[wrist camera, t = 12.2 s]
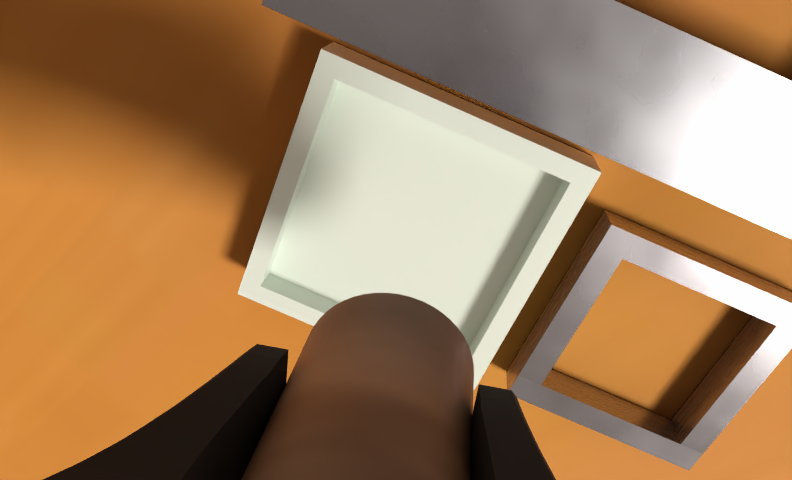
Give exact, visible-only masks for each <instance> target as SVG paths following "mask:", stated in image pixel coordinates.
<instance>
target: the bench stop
mask: <svg viewBox="0 0 792 480" xmlns="http://www.w3.org/2000/svg"><path fill="white" fill-rule="evenodd" d="M262 5H263V6H266V7H268V8H270V9H272V10H275V11H277V12H279V13H281V14H284V15H286V16H288V17H291V18H293V19H295V20H297V21H300V22H302V23H304V24H306V25H309V26H311V27H313V28H315V29H318V30H320V31H322V32H324V33H327V34H329V35H331V36H333V37H336V38H338V39H340V40H342V41H345V42H347V43H349V44H352V45H354V46H356V47H358V48H361V49H363V50H365V51H367V52H370V53H372V54H374V55H376V56H379V57H381V58H383V59H385V60H388V61H390V62H392V63H394V64H397V65H399V66H401V67H404V68H406V69H408V70H410V71H413V72H415V73H417V74H419V75H422V76H424V77H426V78H428V79H431V80H433V81H435V82H437V83H440V84H442V85H444V86H446V87H449V88H451V89H453V90H456V91H458V92H460V93H462V94H465V95H467V96H469V97H471V98H474V99H476V100H478V101H480V102H483V103H485V104H487V105H489V106H492V107H494V108H496V109H498V110H501V111H503V112H505V113H507V114H510V115H512V116H514V117H517V118H519V119H521V120H523V121H526V122H528V123H530V124H532V125H535V126H537V127H539V128H541V129H544V130H546V131H548V132H550V133H553V134H555V135H557V136H559V137H562V138H564V139H566V140H569V141H571V142H573V143H575V144H578V145H580V146H582V147H584V148H587V149H589V150H591V151H593V152H596V153H598V154H600V155H602V156H605V157H607V158H609V159H611V160H614V161H616V162H618V163H620V164H623V165H625V166H627V167H630V168H632V169H634V170H636V171H639V172H641V173H643V174H645V175H648V176H650V177H652V178H654V179H657V180H659V181H661V182H663V183H666V184H668V185H670V186H672V187H675V188H677V189H679V190H682V191H684V192H686V193H688V194H691V195H693V196H695V197H697V198H700V199H702V200H704V201H706V202H709V203H711V204H713V205H715V206H718V207H720V208H722V209H724V210H727V211H729V212H731V213H734V214H736V215H738V216H740V217H743V218H745V219H747V220H749V221H752V222H754V223H756V224H758V225H761V226H763V227H765V228H767V229H770V230H772V231H774V232H776V233H779V234H781V235H783V236H785V237H788V238H790V239H792V81H791V80H789V79H787V78H785V77H782V76H780V75H778V74H776V73H774V72H771V71H769V70H767V69H765V68H763V67H760V66H758V65H756V64H754V63H752V62H749V61H747V60H745V59H743V58H741V57H738V56H736V55H734V54H732V53H730V52H727V51H725V50H723V49H721V48H718V47H716V46H714V45H712V44H710V43H707V42H705V41H703V40H701V39H699V38H696V37H694V36H692V35H690V34H688V33H685V32H683V31H681V30H679V29H677V28H674V27H672V26H670V25H668V24H666V23H663V22H661V21H659V20H657V19H655V18H652V17H650V16H648V15H646V14H644V13H641V12H639V11H637V10H635V9H633V8H630V7H628V6H626V5H624V4H622V3H619V2H617V1H615V0H263V2H262Z"/></svg>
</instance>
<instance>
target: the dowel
mask: <svg viewBox="0 0 792 480" xmlns="http://www.w3.org/2000/svg"><path fill="white" fill-rule="evenodd" d="M473 387H474V364H473V358H472V354H471V351H470V348H469V345H468V343H467V341H466V339H465V337H464V336H463V334H462V333H461V331H460V330H459V329H458V327H457V326H456V325H455V324H454V323H453V322H452V321H451V320H450V319H449V318H448V317H447V316H445V315H444V314H443V313H442V312H440V311H439V310H437V309H436V308H434V307H433V306H431V305H429V304H427V303H425V302H423V301H421V300H418V299H415V298H412V297H409V296H405V295H401V294H394V293H369V294H363V295H359V296H355V297H352V298H349V299H346V300H344V301H342V302H340V303H338V304H336V305H335V306H333V307H332V308H331V309H329V310H328V311H327V312H326V313H325V314H324V315H323V316H322V317H321V318H320V319H319V320H318V321H317V323H316V324H315V325H314V327H313V329H312V331H311V333H310V335H309V337H308V339H307V341H306V343H305V345H304V347H303V350H302V352H301V354H300V356H299V358H298V360H297V362H296V364H295V366H294V369H293V371H292V373H291V375H290V377H289V379H288V381H287V383H286V386H285V388H284V390H283V392H282V394H281V396H280V398H279V400H278V403H277V405H276V407H275V409H274V411H273V413H272V415H271V417H270V420H269V422H268V424H267V426H266V428H265V430H264V432H263V434H262V436H261V439H260V441H259V443H258V445H257V447H256V449H255V451H254V453H253V456H252V458H251V460H250V462H249V464H248V466H247V468H246V470H245V473H244V475H243V477H242V479H241V480H470V478H471V435H472V414H473Z"/></svg>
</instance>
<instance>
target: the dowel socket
mask: <svg viewBox="0 0 792 480" xmlns="http://www.w3.org/2000/svg"><path fill="white" fill-rule="evenodd" d="M622 259H624V260H626V261H629V262H631V263H633V264H635V265H638V266H640V267H642V268H645V269H647V270H649V271H651V272H654V273H656V274H658V275H661V276H663V277H665V278H668V279H670V280H672V281H674V282H677V283H679V284H681V285H684V286H686V287H688V288H690V289H693V290H695V291H697V292H700V293H702V294H704V295H707V296H709V297H711V298H713V299H716V300H718V301H720V302H723V303H725V304H727V305H729V306H732V307H734V308H736V309H739V310H741V311H743V312H746V313H748V314H750V315H752V316H753V317H752V318H751V319H750V321H749V322H748V323H747V324H746V326H745V327H744V328H743V329H742V331H741V332H740V333H739V335H738V336H737V337H736V338H735V340H734V341H733V342H732V343H731V345H730V346H729V347H728V349H727V350H726V351H725V352H724V354H723V355H722V356H721V357H720V359H719V360H718V361H717V363H716V364H715V365H714V366H713V368H712V369H711V370H710V371H709V373H708V374H707V375H706V377H705V378H704V379H703V380H702V382H701V383H700V384H699V385H698V387H697V388H696V389H695V391H694V392H693V393H692V394H691V396H690V397H689V398H688V399H687V401H686V402H685V403H684V405H683V406H682V407H681V408H680V410H679V411H678V412H677V413H676V415H675V416H674V417H673V419H672V420H670V419H667V418H665V417H663V416H660V415H658V414H656V413H653V412H651V411H649V410H646V409H644V408H642V407H639V406H637V405H635V404H632V403H630V402H627V401H625V400H623V399H620V398H618V397H616V396H613V395H611V394H609V393H606V392H604V391H602V390H599V389H597V388H595V387H592V386H590V385H588V384H585V383H583V382H580V381H578V380H576V379H573V378H571V377H569V376H566V375H564V374H562V373H559V372H557V371H555V370H552V367H553V366H554V364H555V363H556V361H557V360H558V358H559V357H560V355H561V353H562V352H563V350H564V349H565V347H566V346H567V344H568V343H569V341H570V339H571V338H572V336H573V335H574V333H575V332H576V330H577V329H578V327H579V325H580V324H581V322H582V321H583V319H584V318H585V316H586V315H587V313H588V311H589V310H590V308H591V307H592V305H593V304H594V302H595V301H596V299H597V298H598V296H599V294H600V293H601V291H602V290H603V288H604V287H605V285H606V284H607V282H608V280H609V279H610V277H611V276H612V274H613V273H614V271H615V270H616V268H617V266H618V265H619V263H620V262H621V260H622ZM791 348H792V291H789V290H787V289H785V288H782V287H780V286H778V285H776V284H773V283H771V282H769V281H767V280H764V279H762V278H760V277H757V276H755V275H753V274H751V273H748V272H746V271H744V270H741V269H739V268H737V267H735V266H732V265H730V264H728V263H725V262H723V261H721V260H719V259H716V258H714V257H712V256H710V255H707V254H705V253H703V252H700V251H698V250H696V249H694V248H691V247H689V246H687V245H684V244H682V243H680V242H678V241H675V240H673V239H671V238H668V237H666V236H664V235H662V234H659V233H657V232H655V231H653V230H650V229H648V228H646V227H643V226H641V225H639V224H637V223H634V222H632V221H630V220H627V219H625V218H623V217H621V216H618V215H616V214H614V213H612V212H609V211H607V210H604V212H603V213H602V215H601V217H600V218H599V220H598V221H597V223H596V225H595V226H594V228H593V230H592V231H591V233H590V235H589V236H588V238H587V240H586V241H585V243H584V245H583V246H582V248H581V250H580V251H579V253H578V255H577V256H576V258H575V259H574V261H573V263H572V264H571V266H570V268H569V269H568V271H567V273H566V274H565V276H564V278H563V279H562V281H561V283H560V284H559V286H558V288H557V289H556V291H555V293H554V294H553V296H552V298H551V299H550V301H549V302H548V304H547V306H546V307H545V309H544V311H543V312H542V314H541V316H540V317H539V319H538V321H537V322H536V324H535V326H534V327H533V329H532V331H531V332H530V334H529V336H528V337H527V339H526V340H525V342H524V344H523V345H522V347H521V349H520V350H519V352H518V354H517V355H516V357H515V359H514V360H513V362H512V364H511V365H510V367H509V369H508V370H507V372H506V373H507V390H512V391H513V393H514V394H515V396H516V397H517V398H519V399H521V400H524V401H526V402H528V403H531V404H533V405H536V406H538V407H540V408H543V409H545V410H547V411H550V412H552V413H554V414H557V415H559V416H562V417H564V418H566V419H569V420H571V421H573V422H576V423H578V424H580V425H583V426H585V427H588V428H590V429H592V430H595V431H597V432H599V433H602V434H604V435H607V436H609V437H611V438H614V439H616V440H618V441H621V442H623V443H625V444H628V445H630V446H633V447H635V448H637V449H640V450H642V451H644V452H647V453H649V454H651V455H654V456H656V457H659V458H661V459H663V460H666V461H668V462H670V463H673V464H675V465H677V466H680V467H682V468H685V469H687V470H690V468H691V467H692V466H693V465H694V464H695V463H696V461H697V460H698V459H699V458H700V457H701V455H702V454H703V453H704V452H705V451H706V449H707V448H708V447H709V446H710V445H711V444H712V442H713V441H714V440H715V439H716V438H717V436H718V435H719V434H720V433H721V432H722V430H723V429H724V428H725V427H726V426H727V425H728V423H729V422H730V421H731V420H732V419H733V417H734V416H735V415H736V414H737V413H738V411H739V410H740V409H741V408H742V407H743V405H744V404H745V403H746V402H747V401H748V400H749V398H750V397H751V396H752V395H753V394H754V392H755V391H756V390H757V389H758V388H759V386H760V385H761V384H762V383H763V382H764V381H765V379H766V378H767V377H768V376H769V375H770V373H771V372H772V371H773V370H774V369H775V367H776V366H777V365H778V364H779V363H780V362H781V360H782V359H783V358H784V357H785V356H786V354H787V353H788V352H789V351H790V350H791Z"/></svg>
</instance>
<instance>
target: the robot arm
mask: <svg viewBox="0 0 792 480" xmlns="http://www.w3.org/2000/svg"><path fill="white" fill-rule="evenodd" d="M287 362H288V350H287V349H281V348H276V347H270V346H265V345H259V344H257V345H255V346H254V347H252V348H251V349H249V350H248V351H247V352H245V353H244V354H243V355H242V356H240V357H239V358H238V359H237V360H235V361H234V362H233V363H231V364H230V365H229V366H228V367H226V368H225V369H224V370H222V371H221V372H220V373H219V374H217V375H216V376H215V377H213V378H212V379H211V380H209V381H208V382H207V383H205V384H204V385H203V386H201V387H200V388H199V389H197V390H196V391H194V392H193V393H192V394H190V395H189V396H188V397H186V398H185V399H184V400H182V401H181V402H179V403H178V404H177V405H175V406H174V407H172V408H171V409H169V410H168V411H166V412H165V413H163V414H162V415H160V416H159V417H157V418H155V419H154V420H152V421H151V422H149V423H148V424H146V425H145V426H143V427H142V428H140V429H139V430H137V431H135V432H134V433H132V434H131V435H129V436H127V437H126V438H124V439H122V440H121V441H119V442H117V443H115V444H114V445H112V446H110V447H108V448H106V449H104V450H103V451H101V452H99V453H97V454H95V455H93V456H91V457H90V458H88V459H86V460H84V461H82V462H80V463H78V464H76V465H74V466H72V467H69V468H67V469H65V470H63V471H61V472H58V473H56V474H54V475H52V476H50V477H48V478H45V479H43V480H241V479H242V477H243V475H244V473H245V470H246V468H247V466H248V464H249V462H250V460H251V458H252V456H253V453H254V451H255V449H256V447H257V445H258V443H259V441H260V439H261V436H262V434H263V432H264V430H265V428H266V426H267V424H268V422H269V420H270V417H271V415H272V413H273V411H274V409H275V407H276V405H277V403H278V400H279V398H280V396H281V394H282V392H283V390H284V388H285V386H286V377H287ZM470 480H556V479H555V477H554V475H553V473H552V472H551V470H550V468H549V466H548V464H547V462H546V460H545V459H544V457H543V455H542V453H541V451H540V449H539V447H538V445H537V443H536V441H535V439H534V437H533V434H532V432H531V430H530V428H529V426H528V424H527V421H526V419H525V417H524V414H523V412H522V410H521V407H520V405H519V402H518V400H517V397H516V396H515V394H514V393H513V391H512V390H507V389H501V388H496V387H490V386H485V385H479V387H478V392H477V396H476V401H475V405H474V410H473V414H472V435H471V478H470Z"/></svg>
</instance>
